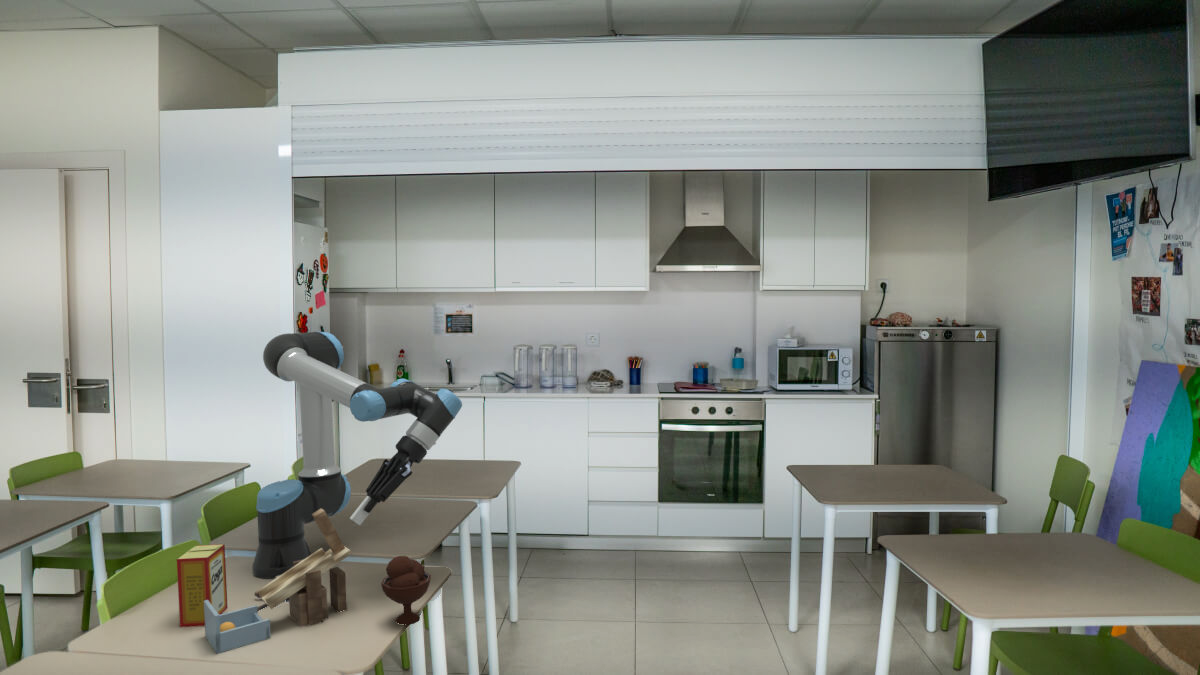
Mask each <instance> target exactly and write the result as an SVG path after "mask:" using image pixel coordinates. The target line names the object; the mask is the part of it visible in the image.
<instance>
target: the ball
mask: <svg viewBox="0 0 1200 675" xmlns="http://www.w3.org/2000/svg"><path fill="white" fill-rule="evenodd" d="M234 628H236V627H235V625H234V624H233V623H231V622H225V623H223V624H221V625H220V632H223V631H226V630H230V629H234Z"/></svg>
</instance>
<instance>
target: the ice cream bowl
mask: <svg viewBox="0 0 1200 675" xmlns="http://www.w3.org/2000/svg"><path fill="white" fill-rule="evenodd" d="M385 571H386V574H387V576H385V577H384V578H383V579H382V581H381V583H380V585H381V588H382V591H383V593H384V595H385V596H386V597H388V598H389V599H390V600H391V601H392V602H394V603H397V604H399V605H402V606H403V612H402V613H400V614H399V615H398V616H396V619H395V622H397V623H399V624H404V625H403V626H409V625H415V624H416V623H418V622H419V621H420V620H421V616H420V614H418V613H416V612H413V610H412V605H413V603H414V602H416V601H419V600H420V599H421V598H423V596H424V595H425V594H426V593H427V591H428V588H429V586H430V583H431V577H432V574H430V573H428V572H426V571H425V566H424V565H423V564H422V563H421V562H419V561H418V560H416V559H413V558H410V557H409V556H406V555H398V556H396V557H393V558H392V559H391V560H390V561H389V562H388V563H387V566H386V568H385ZM397 623H396V624H397ZM405 624H406V625H405Z"/></svg>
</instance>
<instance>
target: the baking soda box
mask: <svg viewBox="0 0 1200 675" xmlns="http://www.w3.org/2000/svg"><path fill="white" fill-rule="evenodd" d="M225 546H226V545H225V543H223V544H222V543H219V544H218V543H217V544H216V543H215V544H199V545H198V544H197V545H195V546H194V547H193V546H192V548H190V549H189V550H188V551H186V552H185V553H184V554H182V555H180V557H178V558H177V559H176V568H177V569H176V570H177V572H176V573H177V589H178V590H177V593H178V613H179V627H180V628H187V627H205V626H204V625H205V617H204V601H205V600H208V601H209V602H210V603H211V605H212V606H213V607H214V609H215V610H216V611H217V613H218V614H219V615H220V614H224V612H225V611H226V610H227V609H228V590H227V589H228V588H227V587H228V586H227V571H226V570H227V568H226V566H227V565H226V564H227V563H226V548H225Z"/></svg>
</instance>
